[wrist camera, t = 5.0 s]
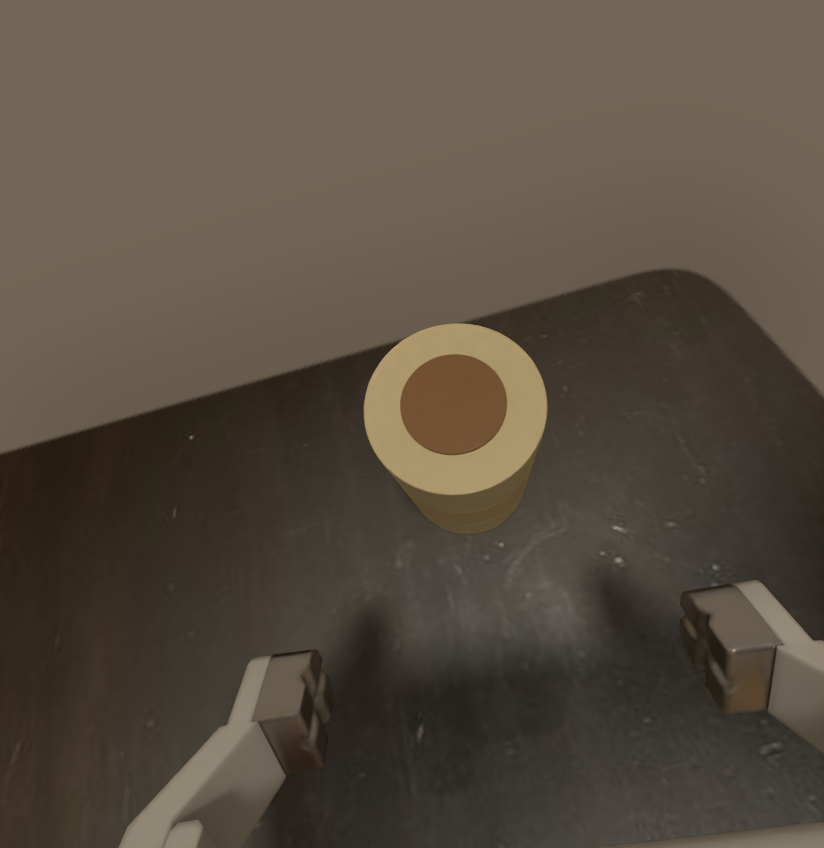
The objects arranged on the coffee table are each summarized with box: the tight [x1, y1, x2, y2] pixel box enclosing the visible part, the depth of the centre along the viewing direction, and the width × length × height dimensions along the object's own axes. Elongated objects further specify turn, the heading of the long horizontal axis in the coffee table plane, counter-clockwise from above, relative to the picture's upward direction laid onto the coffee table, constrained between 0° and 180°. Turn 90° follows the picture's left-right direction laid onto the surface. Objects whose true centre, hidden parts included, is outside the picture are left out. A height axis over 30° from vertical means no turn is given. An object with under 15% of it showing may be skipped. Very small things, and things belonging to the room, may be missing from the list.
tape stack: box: [364, 324, 547, 534], centre depth 19 cm, size 5×5×9 cm
